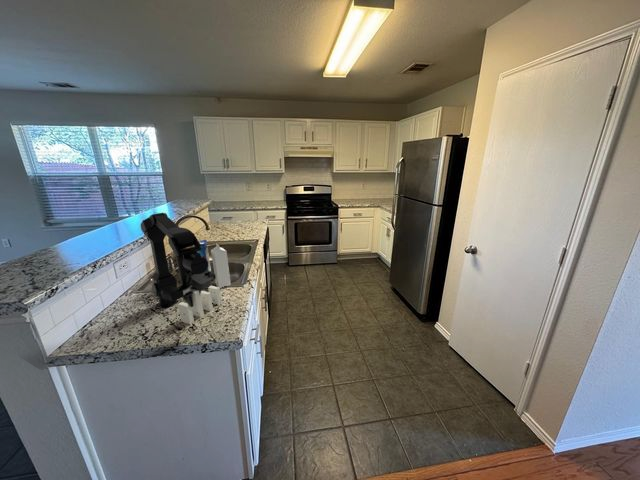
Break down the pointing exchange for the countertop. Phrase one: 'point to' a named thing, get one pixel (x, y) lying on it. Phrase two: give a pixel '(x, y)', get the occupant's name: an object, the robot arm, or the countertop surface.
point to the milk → (220, 266)
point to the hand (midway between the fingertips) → (194, 305)
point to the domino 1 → (185, 313)
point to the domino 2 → (195, 301)
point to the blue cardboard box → (204, 252)
